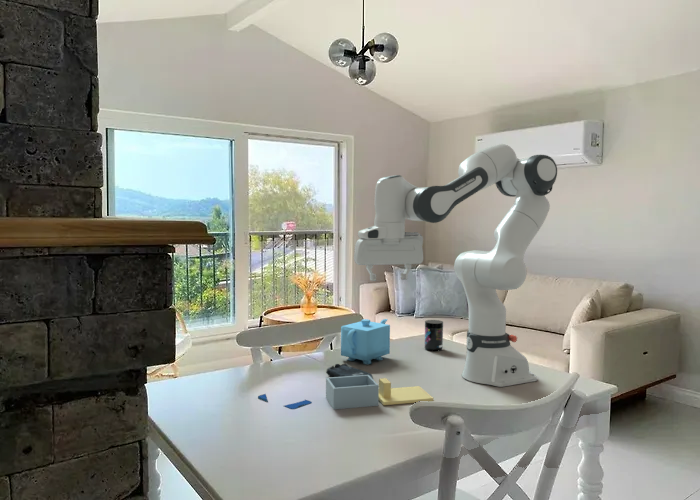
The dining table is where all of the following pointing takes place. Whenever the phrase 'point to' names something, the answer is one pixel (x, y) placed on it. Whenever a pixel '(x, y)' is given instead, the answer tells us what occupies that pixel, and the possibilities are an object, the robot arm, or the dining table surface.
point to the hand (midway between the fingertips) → (388, 280)
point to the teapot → (365, 340)
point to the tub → (352, 392)
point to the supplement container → (433, 335)
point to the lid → (401, 394)
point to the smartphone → (290, 406)
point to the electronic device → (345, 371)
